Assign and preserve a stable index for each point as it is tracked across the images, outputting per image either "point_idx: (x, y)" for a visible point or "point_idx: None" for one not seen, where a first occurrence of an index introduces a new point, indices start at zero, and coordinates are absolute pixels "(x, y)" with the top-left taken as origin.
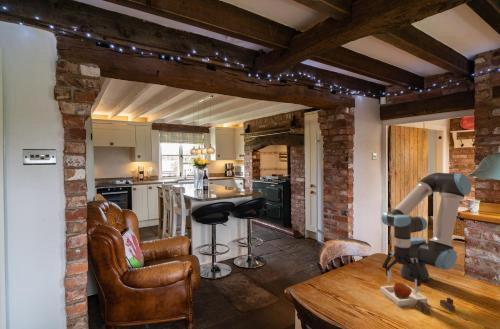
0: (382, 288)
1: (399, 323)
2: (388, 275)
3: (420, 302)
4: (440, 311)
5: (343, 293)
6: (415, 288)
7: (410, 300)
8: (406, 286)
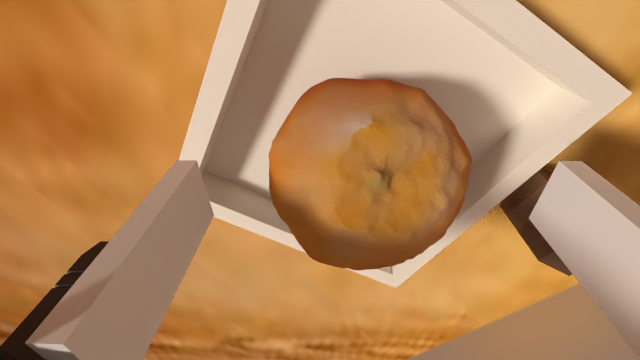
0: None
1: (440, 340)
2: (161, 304)
3: (564, 273)
4: None
5: None
6: (567, 260)
7: (463, 227)
8: (432, 229)
